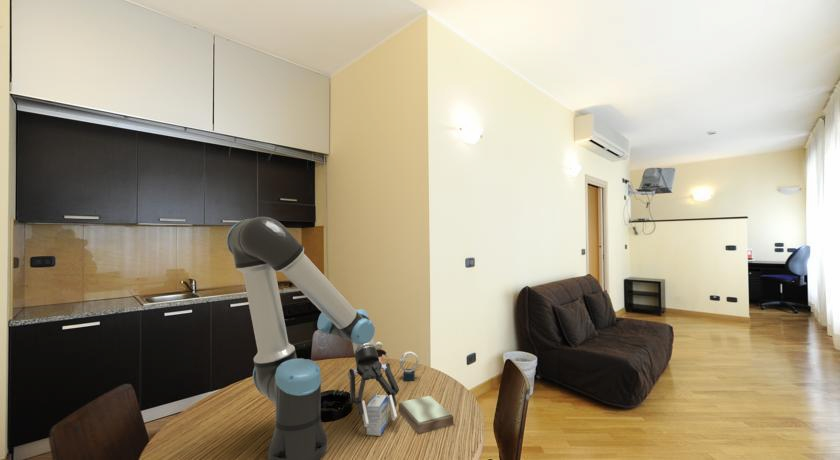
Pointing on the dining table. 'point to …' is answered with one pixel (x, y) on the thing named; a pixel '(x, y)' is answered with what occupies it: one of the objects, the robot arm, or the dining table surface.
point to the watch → (408, 373)
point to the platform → (425, 414)
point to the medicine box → (377, 415)
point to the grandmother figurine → (380, 352)
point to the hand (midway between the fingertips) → (381, 421)
